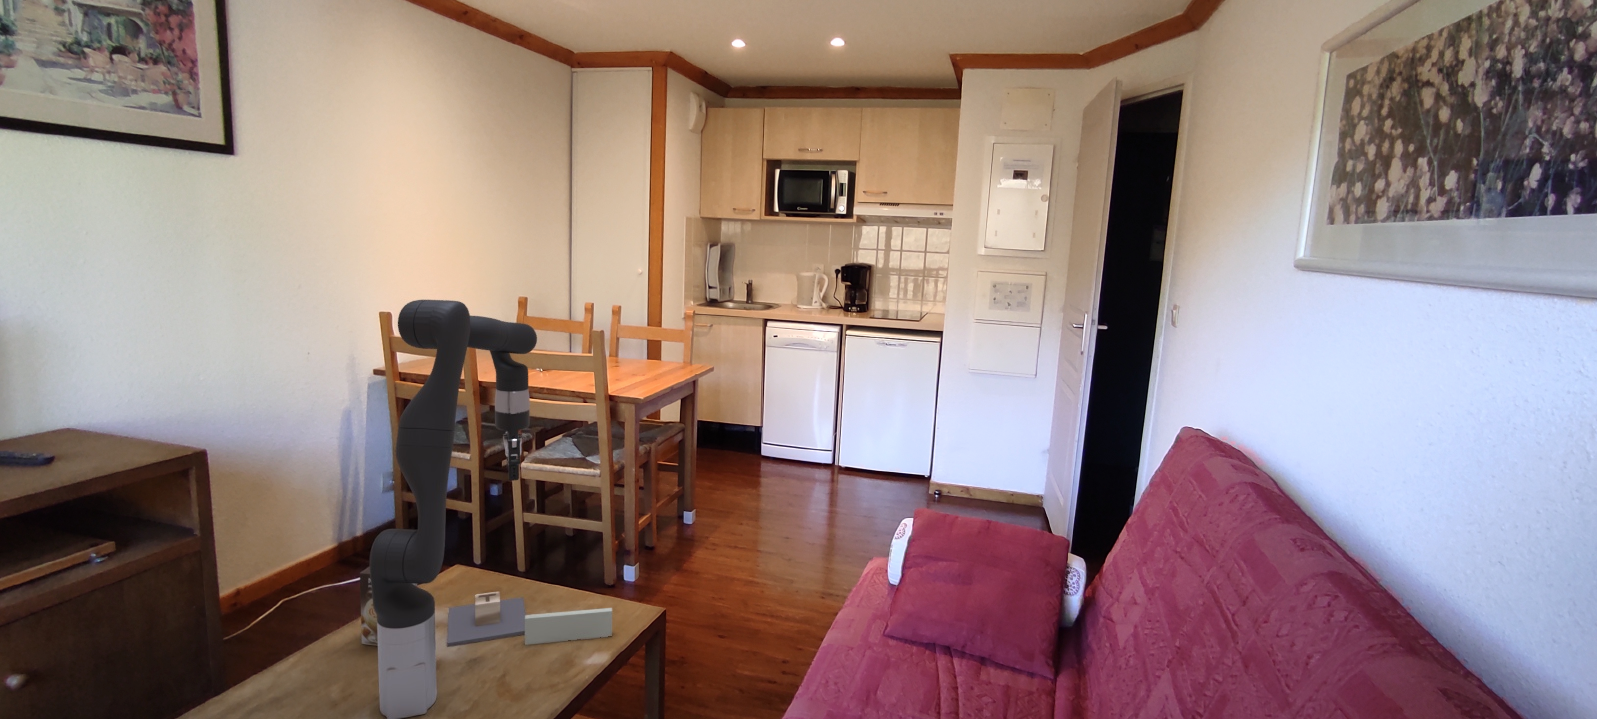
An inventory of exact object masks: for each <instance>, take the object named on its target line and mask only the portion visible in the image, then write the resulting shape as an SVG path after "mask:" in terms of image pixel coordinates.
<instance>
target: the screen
mask: <svg viewBox="0 0 1597 719" xmlns="http://www.w3.org/2000/svg"><path fill="white" fill-rule="evenodd" d="M608 636H613V607H605V608H595V609H594V608H593V609H582V610H572V611H570V610H569V611H559V612H558V611H557V612H549V613H547V612H546V613H536V614H526V615H525V634H524V645H525V646H527V645H536V644H537V645H538V644H548V643H560V642H568V640H571V641H578V640H577V639H581V640H589V639H591V640H592V639H601V638H609V637H608ZM600 637H601V638H600Z"/></svg>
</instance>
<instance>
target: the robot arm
mask: <svg viewBox="0 0 1597 719" xmlns="http://www.w3.org/2000/svg"><path fill="white" fill-rule="evenodd" d="M398 314H399V315H398V318H397V327H398V328H397V330H398V333H399V335H400V338H401V339H402V340H403V341H404V342H405V343H406V344H407V345H409V346H411V347H413V348H416V349H421V350H425V349H426V350H436V354H435V359H434V362H433V366H432V369H431V372H430V374H429V375H428V378H427V379H426V382H424V384H423V385H422V387H421V388H420V389H419V390H418V391H417V393H416V394H415V396H414V397H412V398H411V400H410V401H409V403H408V404H407V406H406V407H405V409H404V410H403V411H402V414H401V415H400V417H399V420H398V426H397V427H398V428H397V436H396V442H395V458H396V462H397V465H398V467H399V469H400V471H401V473H402V476H403V477H404V478H405V481H406V482H407V484H408V487H409V488H410V491H411V492H412V495H413V497H414V499H415V504H416V508H417V529H404V528H387V529H384V530H383V531H381V532H380V533H379V534H378V535H377V536H376V537H375V539H374V541H373V542H372V546H371V550H370V552H369V553H370V554H369V566H370V578H371V587H372V599H373V607H374V610H375V612H376V614H377V633H378V646H377V662H378V663H377V664H378V667H377V668H378V689H379V692H378V697H379V710H380V713H381V715H383V716H385V717H386V719H404V718H409V717H415V716H420V715H424V714H427V711H428V709H429V708H431V707H432V706H433V705H434V704H435V703H436V701H437V695H438V694H437V691H438V690H437V689H438V688H437V658H436V657H437V655H436V654H437V652H436V649H437V648H436V645H437V644H436V604H435V603H436V602H435V601H436V600H435V598H434V595H432V594H431V593H430V592H429V591H427V590H425V589H423V588H421V587H419V586H418V585H422V584H423V585H425V584H426V585H427V584H430V583H432V582H433V581H434V580H436V578H437V577H438V576H439V574H440V572H441V569H442V566H443V562H444V556H445V547H446V544H445V543H446V522H447V520H446V519H447V516H446V515H447V514H446V511H447V494H448V484H449V474H450V467H451V463H452V462H451V461H452V460H451V459H452V456H453V454H452V453H453V448H454V439H455V431H456V418H457V408H458V399H459V390H460V383H461V378H462V375H463V369H464V365H465V360H466V355H467V350H468V348H470V349H475V350H483V351H489V353H490V356H491V359H492V363H493V366H494V370H495V396H494V422H495V423H494V426H495V428H496V429H497V430H499V431H505V433H504V434H502V435H503V436H502V441H503V448H504V450H505V453H504V454H505V456H506V470H508V481H509V482H510V481H518V480H519V479H520V465H521V455H522V444H523V436H522V433H521V432H520V433H519V431H521V430H526V429H528V428H529V427H530V421H531V420H530V417H531V416H530V414H531V412H530V409H531V408H530V406H531V405H530V399H531V398H530V393H529V368H528V366H527V365H526V364H524V363H521V362H518V361H515V360H514V359H513V358H512V356H511V354H517V355H526V354H529V353H531V352H532V351H533V350H534V349H535V347H536V346H537V343H538V342H537V341H538V336H537V333H536V330H535V329H534V328H533V327H532V325H530V324H528V323H523V322H522V323H521V322H514V321H513V322H511V321H504V320H500V319H497V318H493V317H488V316H480V315H470V314H471V313H470V311H469V308H468V307H467V306H466V304H465V303H463V302H461V301H459V300H449V299H448V300H447V299H445V300H444V299H416V300H412V301H409V302H408V303H406V304H404V306H403V307H402V308H401V310H400V311H399V313H398ZM412 583H414V584H417V586H415V585H414V584H412Z"/></svg>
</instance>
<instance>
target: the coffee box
mask: <svg viewBox="0 0 1597 719" xmlns="http://www.w3.org/2000/svg"><path fill="white" fill-rule="evenodd" d="M412 584H414V583H412ZM414 585H415V586H417V587H418V584H414ZM359 587H360V589H359V590H360V591H359V594H360V596H359V597H360V622H361V624H360V628H361V630H360V631H361V633H360V634H361V644H362V645H369V646H376V647H378V633H377V614H376V612H375V610H374V607H373V599H372V587H371V578H370V565H369V566H368V567H366V568H365V569H364V570H362V571H360V572H359Z"/></svg>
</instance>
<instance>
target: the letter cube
mask: <svg viewBox="0 0 1597 719" xmlns="http://www.w3.org/2000/svg"><path fill="white" fill-rule="evenodd" d="M500 600H501V597H500V591H493V592H486V593H485V592H484V593H477V594H475V595H474V604H475V623H476V626H480V625H487V624H493V623H500Z"/></svg>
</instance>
